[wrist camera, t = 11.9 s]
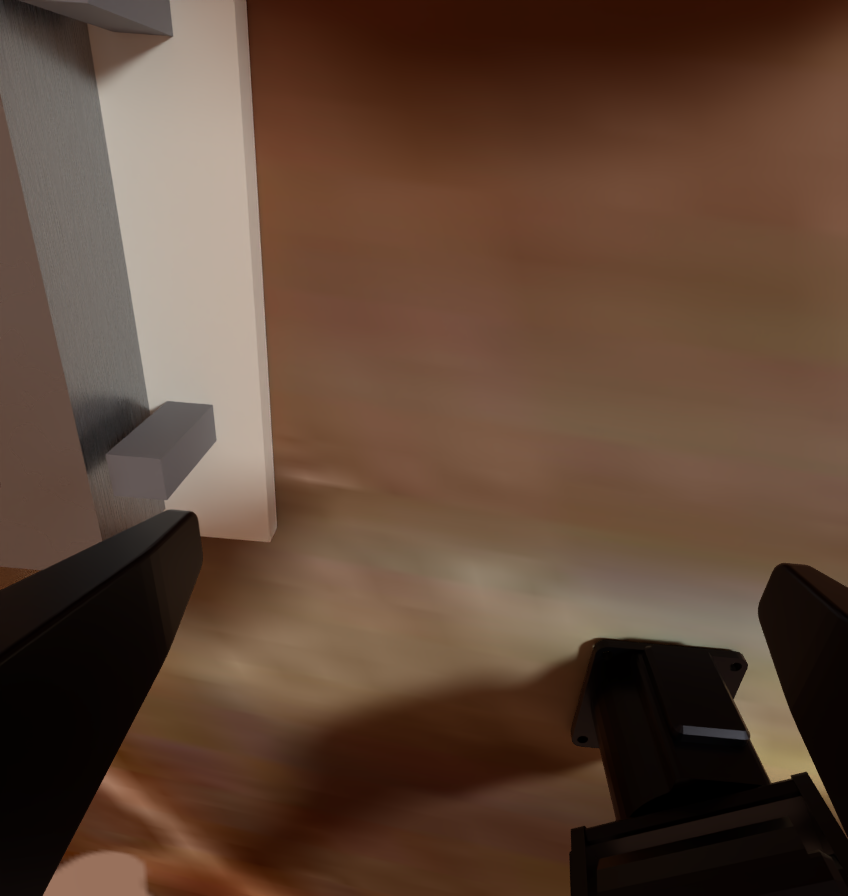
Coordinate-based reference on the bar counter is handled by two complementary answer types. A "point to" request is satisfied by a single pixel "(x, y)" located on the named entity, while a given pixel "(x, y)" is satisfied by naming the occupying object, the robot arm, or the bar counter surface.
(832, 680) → the robot arm
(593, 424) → the bar counter surface
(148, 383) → the collar stand
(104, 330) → the grey square bar
